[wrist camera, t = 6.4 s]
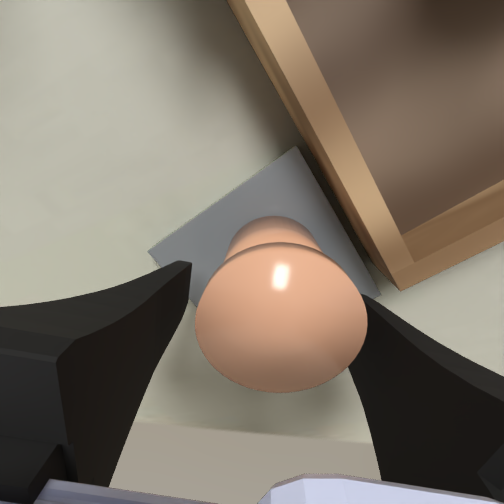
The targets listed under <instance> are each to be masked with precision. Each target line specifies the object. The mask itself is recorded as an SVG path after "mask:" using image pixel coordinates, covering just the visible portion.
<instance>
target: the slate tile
mask: <svg viewBox="0 0 504 504" xmlns="http://www.w3.org/2000/svg"><path fill="white" fill-rule="evenodd" d="M265 216H283V217H287V218H290V219H293V220H295V221H297V222H299V223H300V224H302V225H303V226H305V227H306V228H307V229H308V230H309V231H310V233H311V234H312V235H313V237H314V238H315V240H316V242H317V243H318V245H319V247H320V248H321V250H322V252H323V253H324V254H326V255H327V256H329V257H330V258H332V259H333V260H334V261H335V262H336V263H338V264H339V265H340V266H341V267H342V269H343V270H344V271H345V272H346V273H347V275H348V276H349V278H350V279H351V281H352V282H353V284H354V285H355V286H356V288H357V290H358V291H359V293H360V294H364V295H366V296H368V297H370V298H372V299H374V298H376V297H378V296H380V295H381V293H380V291H379V290H378V288H377V286H376V284H375V283H374V281H373V279H372V277H371V276H370V274H369V272H368V270H367V269H366V267H365V265H364V263H363V262H362V260H361V258H360V256H359V255H358V253H357V251H356V249H355V247H354V246H353V244H352V242H351V240H350V239H349V237H348V235H347V233H346V232H345V230H344V228H343V226H342V225H341V223H340V221H339V219H338V218H337V216H336V214H335V212H334V211H333V209H332V207H331V205H330V204H329V202H328V200H327V198H326V197H325V195H324V193H323V191H322V190H321V188H320V186H319V184H318V183H317V181H316V179H315V177H314V176H313V174H312V172H311V170H310V168H309V167H308V165H307V163H306V161H305V160H304V158H303V156H302V154H301V153H300V151H299V149H298V147H297V146H294V147H293V148H291V149H290V150H288V151H287V152H285V153H284V154H283V155H281V156H280V157H278V158H277V159H276V160H274V161H273V162H271V163H270V164H269V165H267V166H266V167H264V168H263V169H261V170H260V171H259V172H257V173H256V174H254V175H253V176H252V177H250V178H249V179H247V180H246V181H245V182H243V183H242V184H240V185H239V186H237V187H236V188H235V189H233V190H232V191H230V192H229V193H228V194H226V195H225V196H223V197H222V198H220V199H219V200H218V201H216V202H215V203H213V204H212V205H211V206H209V207H208V208H206V209H205V210H204V211H202V212H201V213H199V214H198V215H196V216H195V217H194V218H192V219H191V220H189V221H188V222H187V223H185V224H184V225H182V226H181V227H180V228H178V229H177V230H175V231H174V232H172V233H171V234H170V235H168V236H167V237H165V238H164V239H163V240H161V241H160V242H158V243H157V244H156V245H154V246H153V247H152V248H151V249H149V250H148V251H147V252H148V253H149V254H150V255H151V256H152V257H153V258H154V259H155V261H156V262H157V263H158V264H159V265H160V266H161V267H164V266H166V265H168V264H171V263H173V262H175V261H178V260H181V261H186V262H191V263H192V271H191V281H190V290H189V299H190V300H191V301H192V302H193V303H194V304H195V306H196V307H197V308H198V304H199V302H200V299H201V297H202V294H203V292H204V289H205V287H206V285H207V283H208V281H209V279H210V278H211V276H212V275H213V273H214V272H215V271H216V269H217V268H218V267H219V266H220V265H221V264H222V263H223V262H224V259H225V256H226V253H227V250H228V247H229V245H230V242H231V240H232V238H233V237H234V235H235V234H236V233H237V232H238V230H239V229H241V228H242V227H243V226H244V225H246V224H247V223H249V222H250V221H252V220H255V219H257V218H260V217H265Z"/></svg>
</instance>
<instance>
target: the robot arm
mask: <svg viewBox="0 0 504 504" xmlns="http://www.w3.org/2000/svg"><path fill="white" fill-rule="evenodd" d="M191 271H192V263H191V262H186V261H181V260H178V261H175V262H173V263H171V264H168V265H166V266H164V267H162V268H160V269H158V270H156V271H153V272H151V273H149V274H147V275H144V276H142V277H139V278H137V279H134V280H132V281H129V282H127V283H124V284H121V285H118V286H115V287H112V288H108V289H105V290H101V291H98V292H94V293H89V294H85V295H80V296H76V297H71V298H66V299H61V300H55V301H49V302H42V303H35V304H27V305H19V306H8V307H0V504H216V503H210V502H203V501H196V500H189V499H183V498H176V497H169V496H162V495H156V494H149V493H142V492H136V491H129V490H122V489H115V488H109V485H110V482H111V479H112V476H113V473H114V471H115V468H116V465H117V462H118V460H119V457H120V455H121V452H122V450H123V447H124V444H125V441H126V439H127V437H128V434H129V431H130V429H131V426H132V424H133V421H134V419H135V416H136V414H137V411H138V409H139V406H140V404H141V401H142V399H143V396H144V394H145V392H146V389H147V387H148V384H149V382H150V380H151V377H152V375H153V373H154V371H155V368H156V366H157V364H158V362H159V361H160V359H161V357H162V355H163V353H164V351H165V350H166V348H167V346H168V344H169V342H170V340H171V339H172V337H173V335H174V333H175V331H176V329H177V327H178V326H179V324H180V322H181V320H182V317H183V315H184V312H185V309H186V306H187V304H188V300H189V290H190V281H191ZM360 295H361V296H362V299H363V301H364V304H365V307H366V312H367V332H366V336H365V340H364V343H363V345H362V347H361V350H360V351H359V353H358V354H357V356H356V358H355V359H354V360H353V361H352V362H351V364H350V365H349V366H348V368H349V371H350V373H351V376H352V378H353V381H354V383H355V386H356V389H357V391H358V394H359V396H360V399H361V402H362V405H363V408H364V411H365V415H366V418H367V422H368V426H369V429H370V433H371V437H372V441H373V445H374V449H375V453H376V457H377V461H378V465H379V470H380V475H381V480H382V481H380V480H374V479H367V478H361V477H355V476H348V475H341V474H302V475H299V476H296V477H293V478H290V479H287V480H284V481H282V482H278V483H276V484H275V485H274V486H273V487H272V488H271V489H270V490H269V491H268V492H267V493H266V494H265V495H264V496H263V497H262V499H261V500H260V501H259V502H258V503H257V504H504V377H503V376H501V375H499V374H497V373H495V372H493V371H491V370H489V369H487V368H485V367H483V366H481V365H479V364H477V363H475V362H473V361H471V360H469V359H467V358H465V357H463V356H461V355H460V354H458V353H456V352H454V351H452V350H451V349H449V348H447V347H445V346H443V345H442V344H440V343H438V342H437V341H435V340H433V339H432V338H430V337H429V336H427V335H426V334H424V333H422V332H421V331H419V330H418V329H416V328H415V327H413V326H412V325H410V324H409V323H407V322H406V321H404V320H403V319H401V318H400V317H398V316H397V315H395V314H394V313H393V312H391V311H390V310H388V309H387V308H385V307H384V306H382V305H381V304H380V303H378V302H376V301H375V300H373V299H372V298H370V297H368V296H366V295H364V294H360Z"/></svg>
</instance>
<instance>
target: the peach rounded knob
mask: <svg viewBox="0 0 504 504" xmlns="http://www.w3.org/2000/svg"><path fill="white" fill-rule="evenodd" d="M195 331H196V336H197V340H198V343H199V346H200V348H201V350H202V352H203V354H204V356H205V357H206V358H207V360H208V361H209V362H210V364H211V365H212V366H213V367H214V368H215V369H216V370H217V371H219V372H220V373H221V374H222V375H224V376H225V377H227V378H228V379H230V380H232V381H234V382H236V383H238V384H240V385H242V386H245V387H248V388H251V389H255V390H259V391H265V392H275V393H286V392H296V391H301V390H306V389H309V388H313V387H316V386H318V385H321V384H323V383H325V382H327V381H329V380H331V379H332V378H334V377H335V376H337V375H338V374H340V373H341V372H342V371H343V370H345V369H346V368H347V367H348V366H349V365H350V364H351V362H352V361H353V360H354V359H355V358H356V356H357V354H358V353H359V351H360V350H361V347H362V345H363V343H364V340H365V336H366V332H367V312H366V307H365V304H364V301H363V299H362V296H361V295H360V293H359V291H358V290H357V288H356V286H355V285H354V284H353V282H352V281H351V279H350V278H349V276H348V275H347V273H346V272H345V271H344V270H343V269H342V267H341V266H340V265H339V264H338V263H336V262H335V261H334V260H333V259H332V258H330V257H329V256H327V255H326V254H324V253H323V252H322V250H321V248H320V247H319V245H318V243H317V242H316V240H315V238H314V237H313V235H312V234H311V233H310V231H309V230H308V229H307V228H306V227H305V226H303V225H302V224H300V223H299V222H297V221H295V220H293V219H290V218H287V217H283V216H265V217H260V218H257V219H255V220H252V221H250V222H249V223H247V224H246V225H244V226H243V227H242V228H241V229H239V230H238V232H237V233H236V234H235V235H234V237H233V238H232V240H231V242H230V245H229V247H228V250H227V253H226V256H225V259H224V262H223V263H222V264H221V265H220V266H219V267H218V268H217V269H216V271H215V272H214V273H213V275H212V276H211V278H210V279H209V281H208V283H207V285H206V287H205V289H204V292H203V294H202V297H201V299H200V302H199V304H198V308H197V311H196V318H195Z"/></svg>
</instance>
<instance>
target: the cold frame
mask: <svg viewBox="0 0 504 504" xmlns="http://www.w3.org/2000/svg"><path fill="white" fill-rule="evenodd" d="M227 2H228V4H229V6H230V8H231V9H232V11H233V13H234V15H235V17H236V18H237V20H238V22H239V24H240V26H241V27H242V29H243V31H244V33H245V35H246V36H247V38H248V40H249V42H250V44H251V45H252V47H253V49H254V51H255V53H256V54H257V56H258V58H259V60H260V62H261V63H262V65H263V67H264V69H265V71H266V72H267V74H268V76H269V78H270V80H271V81H272V83H273V85H274V87H275V89H276V90H277V92H278V94H279V96H280V98H281V99H282V101H283V103H284V105H285V107H286V108H287V110H288V112H289V114H290V116H291V117H292V119H293V121H294V123H295V125H296V126H297V128H298V130H299V132H300V134H301V135H302V137H303V139H304V141H305V143H306V144H307V146H308V148H309V150H310V152H311V153H312V155H313V157H314V159H315V161H316V162H317V164H318V166H319V168H320V170H321V171H322V173H323V175H324V177H325V179H326V180H327V182H328V184H329V186H330V188H331V189H332V191H333V193H334V195H335V197H336V198H337V200H338V202H339V204H340V206H341V207H342V209H343V211H344V213H345V215H346V216H347V218H348V220H349V222H350V224H351V225H352V227H353V229H354V231H355V233H356V234H357V236H358V238H359V240H360V242H361V243H362V245H363V247H364V249H365V251H366V252H367V254H368V256H369V258H370V260H371V261H372V263H373V264H374V265H375V266H376V267H377V268H378V269H379V270H380V271H381V272H382V273H383V274H384V275H385V276H386V277H387V278H388V279H389V280H390V281H391V282H392V283H393V284H394V285H395V286H396V287H397V288H398V289H399V290H400V291H403V290H405V289H407V288H409V287H411V286H413V285H415V284H417V283H419V282H421V281H423V280H425V279H427V278H429V277H431V276H433V275H435V274H437V273H439V272H441V271H443V270H445V269H448V268H450V267H452V266H454V265H456V264H458V263H460V262H462V261H464V260H466V259H468V258H470V257H472V256H474V255H476V254H478V253H480V252H482V251H484V250H486V249H488V248H490V247H492V246H495V245H497V244H499V243H501V242H503V241H504V0H227Z"/></svg>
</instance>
